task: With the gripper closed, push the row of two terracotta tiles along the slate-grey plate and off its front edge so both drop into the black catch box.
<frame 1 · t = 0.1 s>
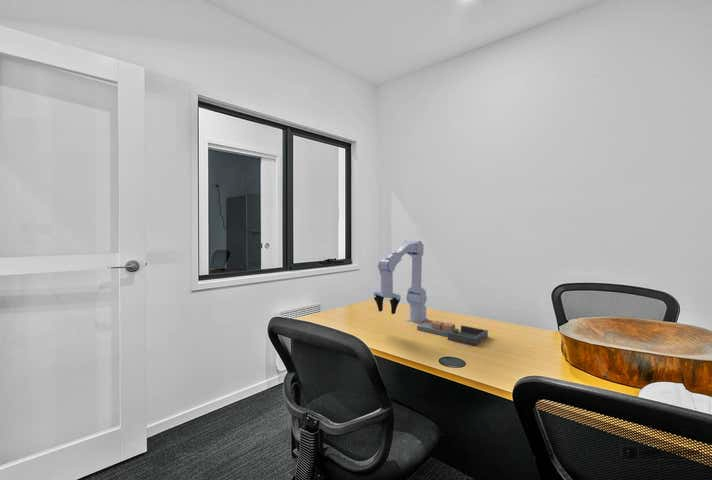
hand: (386, 312, 158), 10 cm above the table, tool pointing down, fingers open, 7 cm apart
slate plate: (437, 331, 160), on the table
catch box: (468, 338, 150), on the table
tile back: (437, 327, 160), point 2 cm above the table, touching slate plate
tile front: (448, 329, 156), point 2 cm above the table, touching slate plate
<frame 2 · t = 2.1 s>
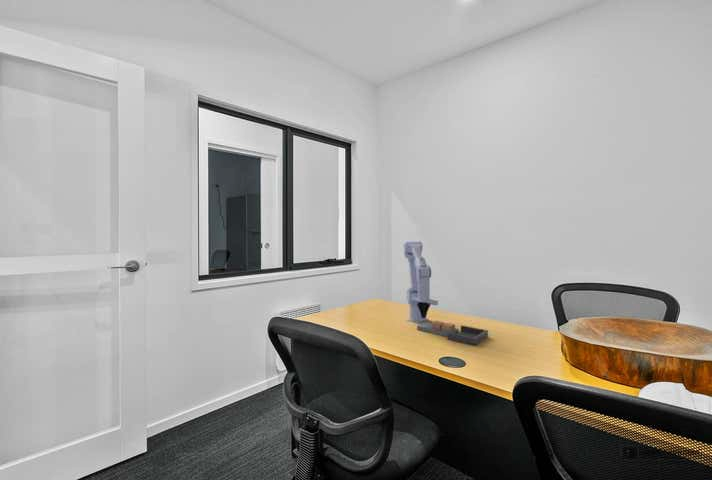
hand: (423, 317, 164), 6 cm above the table, tool pointing down, fingers closed
nothing on the table moved.
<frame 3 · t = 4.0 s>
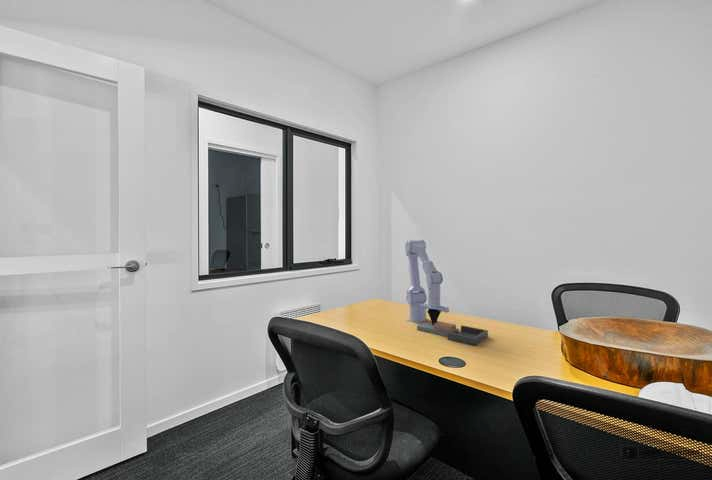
hand: (434, 324, 161), 3 cm above the table, tool pointing down, fingers closed
tile back: (440, 327, 159), point 2 cm above the table, touching gripper, tile front
tile front: (449, 329, 156), point 2 cm above the table, touching slate plate, tile back
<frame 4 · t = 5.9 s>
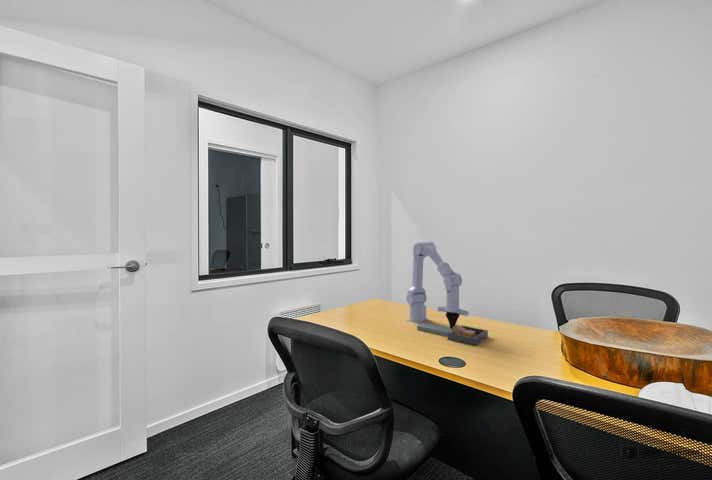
hand: (452, 328, 154), 3 cm above the table, tool pointing down, fingers closed
tile back: (457, 332, 153), point 2 cm above the table, tilted 18°, touching gripper, tile front
tile front: (468, 337, 150), resting on catch box, touching tile back
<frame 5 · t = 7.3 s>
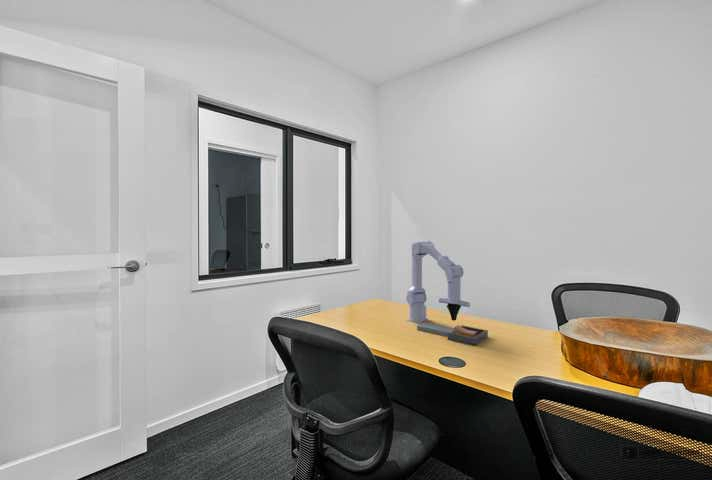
hand: (453, 319, 154), 7 cm above the table, tool pointing down, fingers closed
tile back: (459, 333, 153), point 1 cm above the table, tilted 18°, touching slate plate, tile front
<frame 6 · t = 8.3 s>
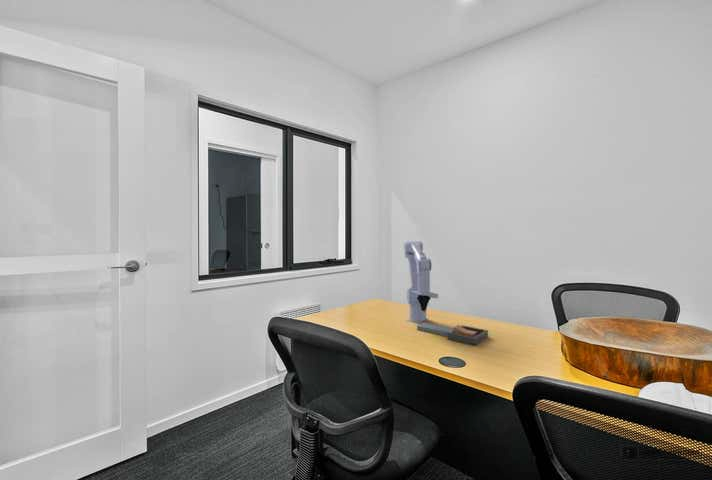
hand: (423, 310, 163), 9 cm above the table, tool pointing down, fingers closed
nothing on the table moved.
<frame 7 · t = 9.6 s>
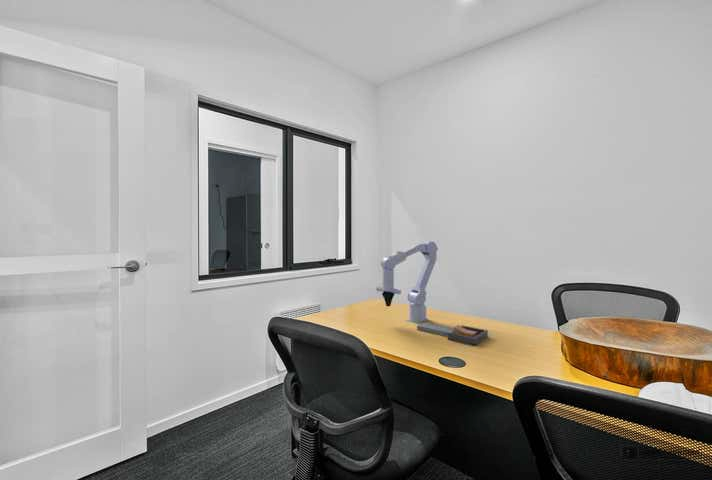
hand: (388, 306, 173), 9 cm above the table, tool pointing down, fingers closed
nothing on the table moved.
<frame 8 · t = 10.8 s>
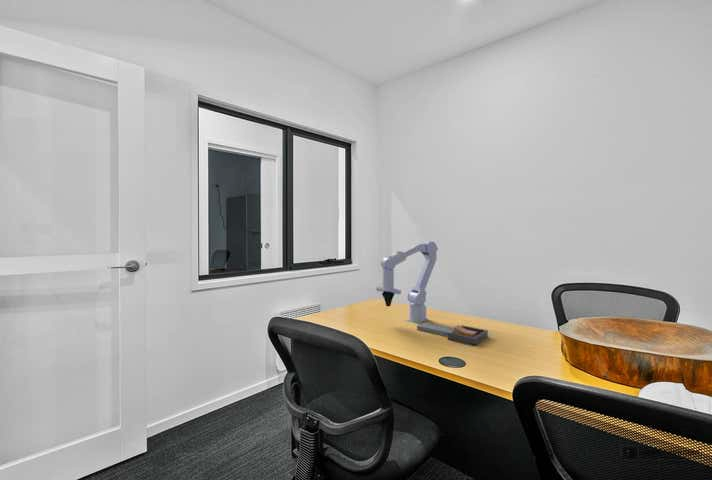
hand: (388, 306, 173), 9 cm above the table, tool pointing down, fingers closed
nothing on the table moved.
at the end: tile front inside the target area on the catch box (0.8 cm from its centre), point 0.5 cm above the catch box's base; tile back inside the target area on the catch box (4.4 cm from its centre), point 1.4 cm above the catch box's base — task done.
